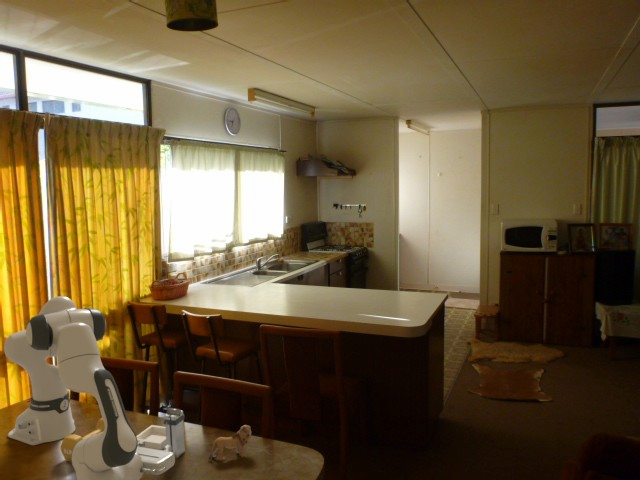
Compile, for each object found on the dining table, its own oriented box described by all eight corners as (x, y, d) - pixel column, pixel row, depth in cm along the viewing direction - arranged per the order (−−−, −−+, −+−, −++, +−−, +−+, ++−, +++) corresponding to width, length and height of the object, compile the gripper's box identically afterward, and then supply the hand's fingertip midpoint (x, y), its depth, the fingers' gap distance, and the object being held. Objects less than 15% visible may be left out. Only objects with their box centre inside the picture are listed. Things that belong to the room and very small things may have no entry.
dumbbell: (78, 466, 166) (76, 441, 165) (58, 461, 170) (56, 436, 169) (123, 439, 183) (122, 417, 182) (104, 435, 187) (102, 413, 186)
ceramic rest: (132, 447, 177) (131, 439, 177) (152, 433, 188) (151, 424, 187) (160, 452, 174) (160, 443, 173) (179, 436, 184) (178, 428, 184)
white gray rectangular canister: (165, 456, 171) (163, 411, 169) (174, 449, 176) (172, 405, 174) (177, 458, 169) (175, 413, 168) (186, 450, 174) (184, 406, 173)
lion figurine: (249, 446, 176) (248, 421, 175) (254, 454, 172) (253, 427, 171) (205, 457, 170) (204, 431, 169) (210, 465, 165) (209, 438, 164)
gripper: (158, 463, 146) (185, 440, 159) (97, 453, 152) (128, 431, 165) (159, 485, 146) (186, 460, 160) (98, 473, 153) (129, 450, 166)
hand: (156, 445), depth 162 cm, fingers open, 8 cm apart
